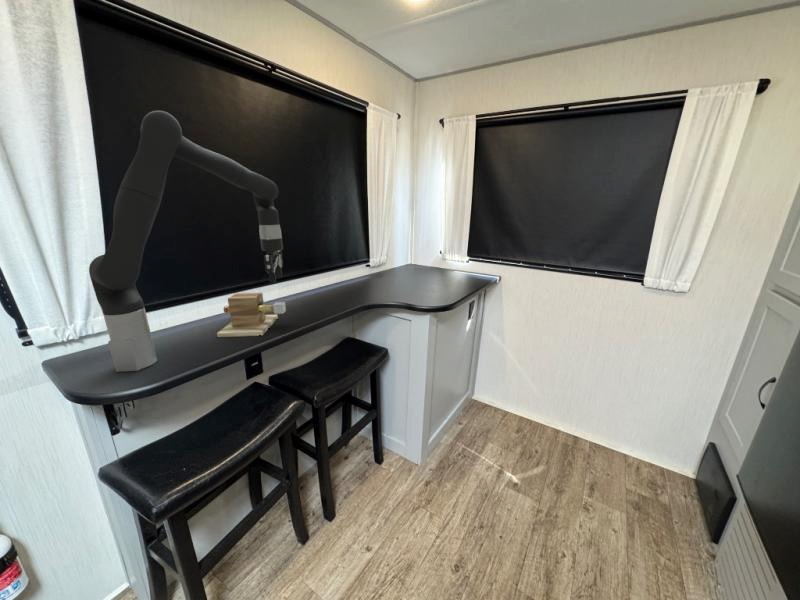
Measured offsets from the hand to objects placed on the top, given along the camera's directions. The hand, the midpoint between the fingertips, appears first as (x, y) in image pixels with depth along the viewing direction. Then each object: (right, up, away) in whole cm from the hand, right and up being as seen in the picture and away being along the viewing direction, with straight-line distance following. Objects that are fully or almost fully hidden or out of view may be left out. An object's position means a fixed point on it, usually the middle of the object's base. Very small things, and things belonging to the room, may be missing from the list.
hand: (276, 279), depth 122 cm
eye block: (-12, -18, +4) cm, 22 cm away
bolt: (-9, -13, +3) cm, 16 cm away
